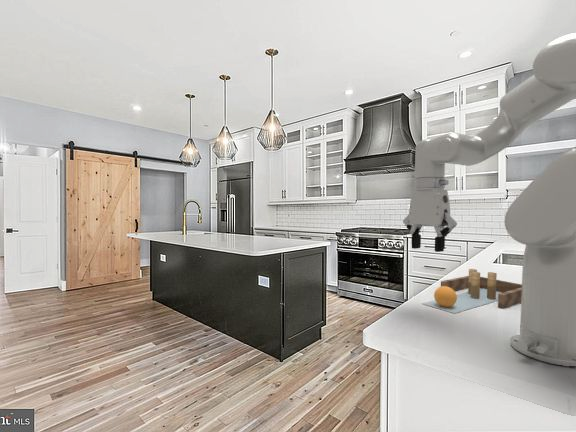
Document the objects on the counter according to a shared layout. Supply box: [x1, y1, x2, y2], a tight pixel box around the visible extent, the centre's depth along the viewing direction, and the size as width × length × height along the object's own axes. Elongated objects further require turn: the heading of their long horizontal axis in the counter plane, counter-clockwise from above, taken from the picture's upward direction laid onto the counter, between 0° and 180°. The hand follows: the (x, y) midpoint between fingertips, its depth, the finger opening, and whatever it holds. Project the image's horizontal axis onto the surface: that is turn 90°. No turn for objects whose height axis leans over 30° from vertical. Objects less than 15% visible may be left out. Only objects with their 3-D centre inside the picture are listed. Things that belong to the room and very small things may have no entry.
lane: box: [421, 288, 502, 314], centre depth 100 cm, size 36×10×1 cm, turn 122°
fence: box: [440, 275, 522, 309], centre depth 105 cm, size 20×20×4 cm
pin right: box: [487, 271, 498, 300], centre depth 101 cm, size 2×2×8 cm
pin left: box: [467, 268, 478, 294], centre depth 106 cm, size 2×2×8 cm
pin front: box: [471, 271, 481, 299], centre depth 102 cm, size 2×2×8 cm
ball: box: [433, 286, 458, 307], centre depth 93 cm, size 6×6×6 cm
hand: (427, 249), depth 87 cm, fingers open, 6 cm apart
